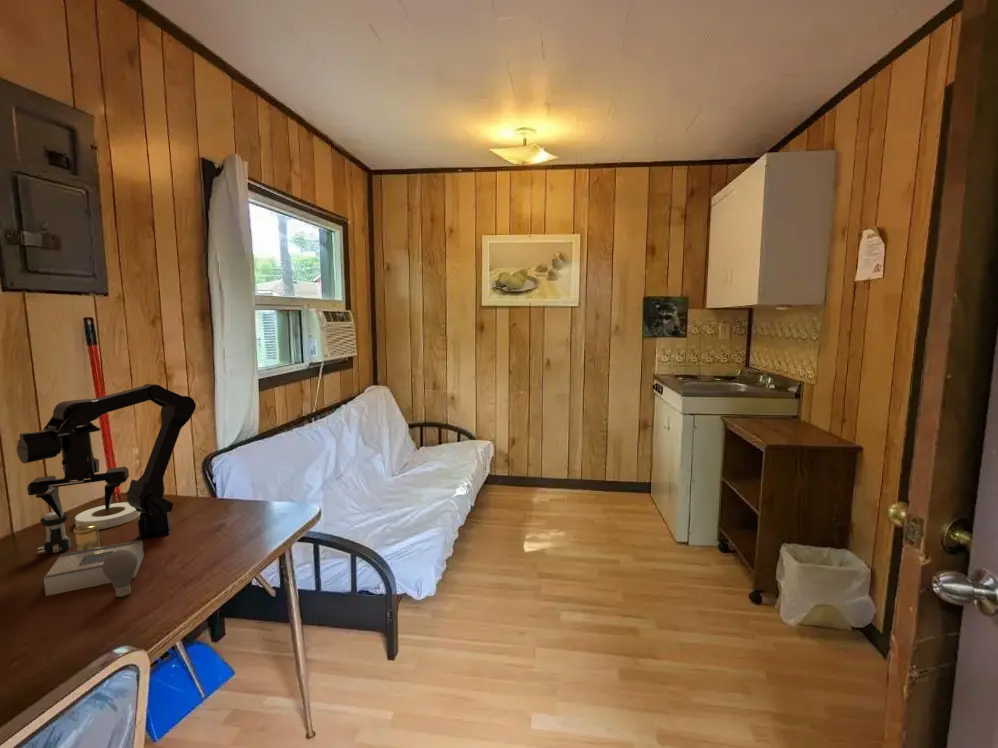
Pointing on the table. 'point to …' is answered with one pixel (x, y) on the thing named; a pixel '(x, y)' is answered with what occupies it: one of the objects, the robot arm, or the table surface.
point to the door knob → (87, 536)
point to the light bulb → (120, 570)
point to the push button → (55, 533)
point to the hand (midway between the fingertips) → (84, 513)
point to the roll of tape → (108, 515)
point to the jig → (86, 568)
